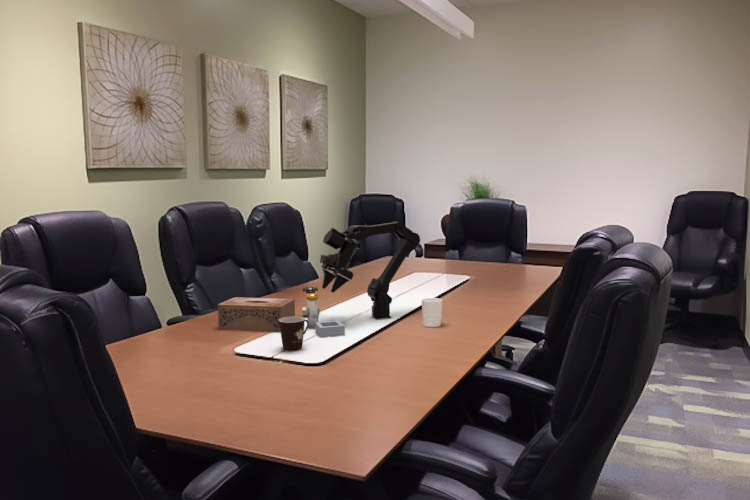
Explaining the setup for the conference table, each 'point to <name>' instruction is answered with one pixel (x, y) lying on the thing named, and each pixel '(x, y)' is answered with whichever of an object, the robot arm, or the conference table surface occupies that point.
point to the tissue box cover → (254, 313)
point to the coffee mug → (292, 332)
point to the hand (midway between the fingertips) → (327, 290)
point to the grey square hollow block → (329, 328)
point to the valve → (308, 290)
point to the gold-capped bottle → (312, 309)
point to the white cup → (431, 312)
